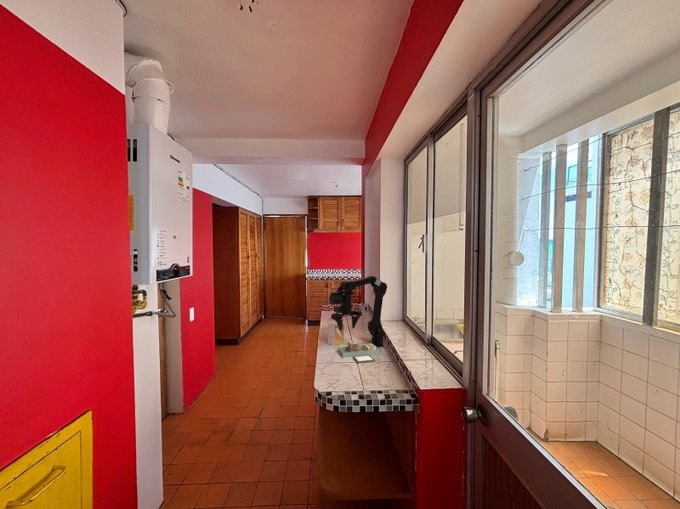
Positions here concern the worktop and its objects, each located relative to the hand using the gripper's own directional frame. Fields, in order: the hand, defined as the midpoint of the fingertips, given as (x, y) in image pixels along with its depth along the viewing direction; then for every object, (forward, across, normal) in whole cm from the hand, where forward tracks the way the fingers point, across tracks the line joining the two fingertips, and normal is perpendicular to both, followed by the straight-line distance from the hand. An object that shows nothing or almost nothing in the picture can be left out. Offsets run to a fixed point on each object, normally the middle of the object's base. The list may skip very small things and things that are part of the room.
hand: (346, 329), depth 178 cm
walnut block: (+13, -1, +4) cm, 14 cm away
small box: (+13, -3, -16) cm, 21 cm away
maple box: (+14, -11, +8) cm, 19 cm away
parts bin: (+13, -4, +5) cm, 15 cm away
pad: (+13, +1, +16) cm, 20 cm away
